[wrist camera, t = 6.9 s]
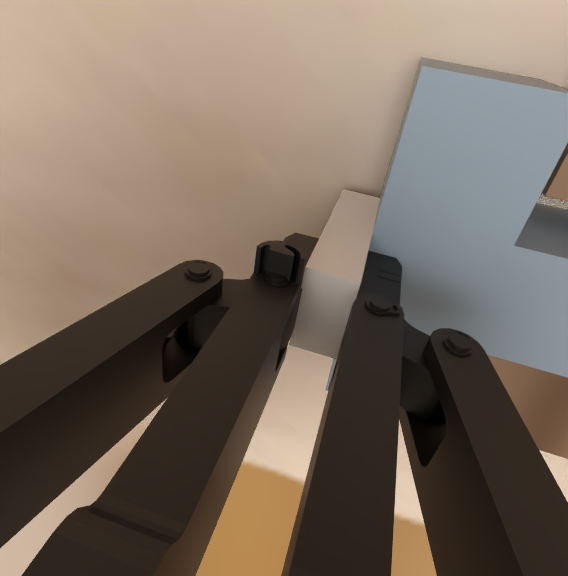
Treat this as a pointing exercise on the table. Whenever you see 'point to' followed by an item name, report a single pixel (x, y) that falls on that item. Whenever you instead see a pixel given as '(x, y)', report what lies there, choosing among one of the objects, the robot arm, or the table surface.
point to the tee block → (480, 212)
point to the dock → (537, 383)
